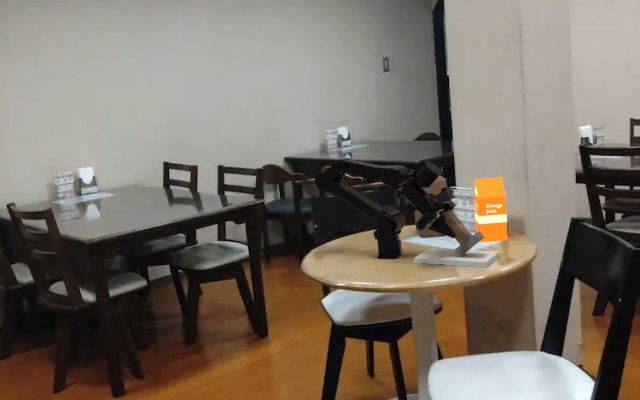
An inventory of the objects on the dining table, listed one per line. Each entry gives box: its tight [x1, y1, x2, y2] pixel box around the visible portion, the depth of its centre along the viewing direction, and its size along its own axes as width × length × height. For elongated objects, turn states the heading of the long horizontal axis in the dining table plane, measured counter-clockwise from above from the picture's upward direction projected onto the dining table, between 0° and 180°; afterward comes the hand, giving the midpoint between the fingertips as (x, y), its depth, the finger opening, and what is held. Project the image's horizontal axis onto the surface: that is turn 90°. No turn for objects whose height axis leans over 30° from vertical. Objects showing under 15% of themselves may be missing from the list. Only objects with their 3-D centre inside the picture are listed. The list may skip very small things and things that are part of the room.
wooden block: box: [414, 175, 448, 238], centre depth 233 cm, size 10×10×20 cm
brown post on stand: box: [444, 209, 485, 257], centre depth 196 cm, size 8×5×12 cm
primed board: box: [413, 247, 500, 268], centre depth 198 cm, size 22×12×2 cm, turn 58°
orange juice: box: [473, 176, 509, 243], centre depth 218 cm, size 8×9×20 cm
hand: (456, 235), depth 196 cm, fingers closed on brown post on stand, 3 cm apart
